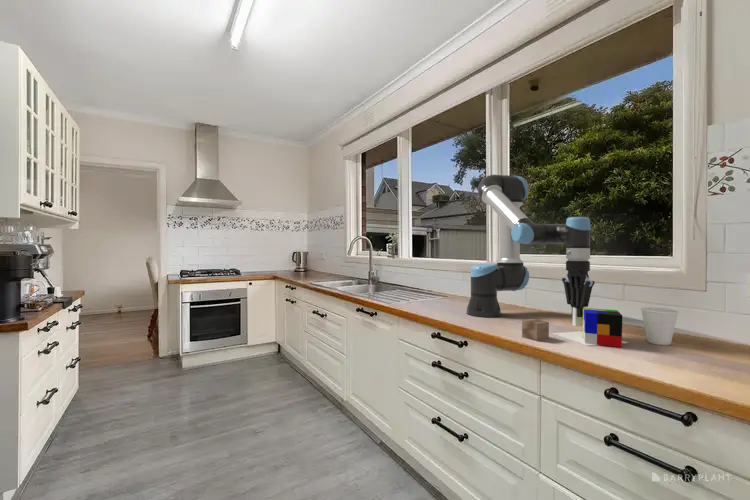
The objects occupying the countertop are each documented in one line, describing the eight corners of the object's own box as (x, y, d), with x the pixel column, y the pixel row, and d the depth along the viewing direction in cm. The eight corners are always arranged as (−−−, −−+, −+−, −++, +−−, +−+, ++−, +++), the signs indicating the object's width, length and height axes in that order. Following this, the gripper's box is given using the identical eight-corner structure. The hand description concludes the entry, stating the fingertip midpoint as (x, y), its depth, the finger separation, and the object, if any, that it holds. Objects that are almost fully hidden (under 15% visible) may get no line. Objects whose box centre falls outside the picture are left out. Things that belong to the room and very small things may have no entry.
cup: (669, 349, 112) (669, 313, 111) (633, 341, 120) (634, 308, 120) (684, 345, 116) (685, 311, 116) (649, 337, 125) (650, 306, 125)
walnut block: (522, 337, 125) (522, 320, 125) (533, 335, 128) (533, 318, 128) (536, 341, 120) (537, 323, 120) (548, 339, 123) (548, 321, 123)
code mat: (552, 333, 130) (552, 333, 130) (589, 331, 134) (589, 330, 134) (587, 345, 115) (587, 345, 115) (628, 343, 118) (628, 342, 118)
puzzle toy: (584, 343, 117) (585, 312, 117) (582, 336, 126) (583, 307, 126) (621, 347, 113) (622, 315, 112) (616, 339, 122) (617, 310, 121)
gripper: (556, 259, 134) (555, 322, 135) (583, 260, 122) (582, 330, 122) (573, 259, 136) (572, 321, 136) (601, 260, 123) (600, 329, 124)
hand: (577, 325), depth 129 cm, fingers closed
